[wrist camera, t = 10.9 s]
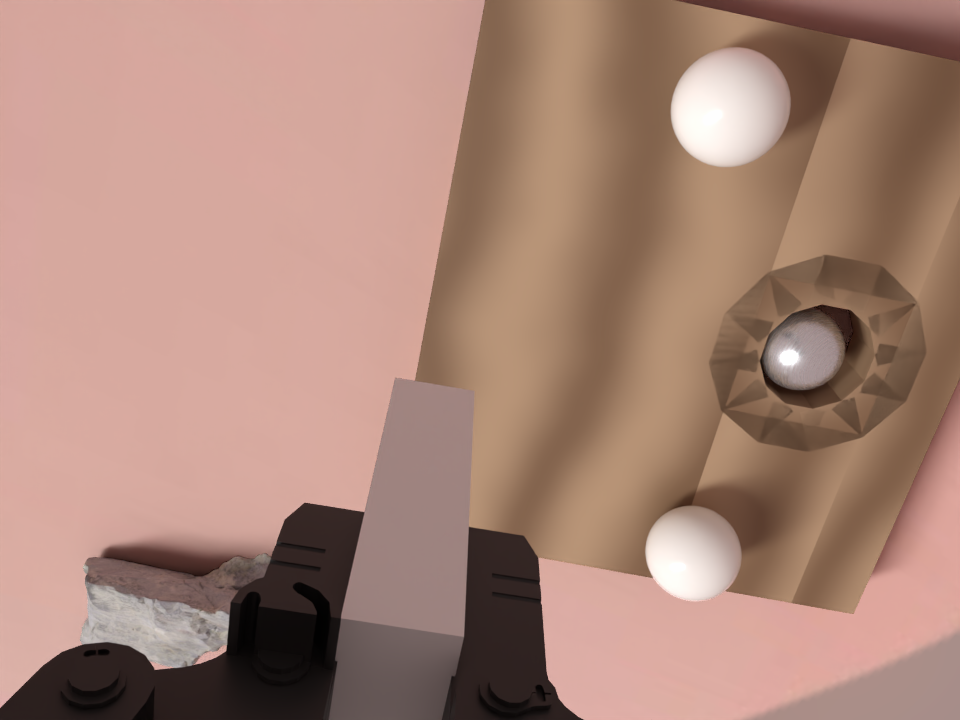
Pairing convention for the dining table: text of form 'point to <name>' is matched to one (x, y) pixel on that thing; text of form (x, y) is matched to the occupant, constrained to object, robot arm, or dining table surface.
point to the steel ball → (803, 350)
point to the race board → (695, 291)
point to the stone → (164, 607)
